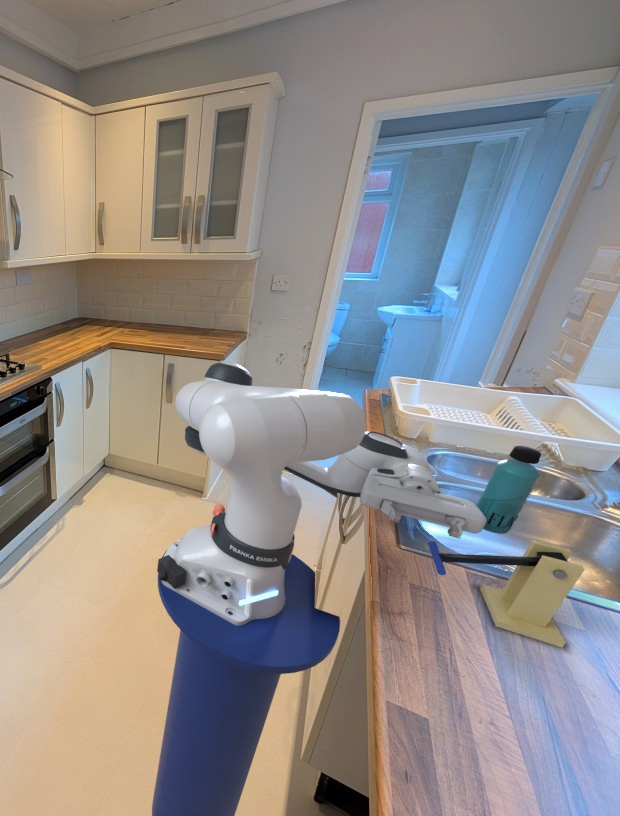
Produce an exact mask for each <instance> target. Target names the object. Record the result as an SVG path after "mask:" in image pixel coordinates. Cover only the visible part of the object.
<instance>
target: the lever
mask: <svg viewBox="0 0 620 816" xmlns="http://www.w3.org/2000/svg"><path fill="white" fill-rule="evenodd" d="M427 545H428V548H429V551H430V554H431V558H432V561H433V565H434V567H435V571H436V574H437V575H438V576H446V575H447V570H446V567H445V564H444V563H455V564H457V563H459V564H474V565H475V564H478V565H496V566H497V565H498V566H515V567H517V566H536V565H537V564H538V562H539V560H540V559H541V557H542V556H547V557H551V558H555V559H559V560H563V561H567V562H569V561H568V560H566V558H565V557H564V555H563V554H562V553H560V552H537V557H522V556H515V555H513V556H512V555H491V554H489V555H488V554H466V553H465V554H464V553H445V552H444V553H443V552H441V553H440V550H439V547H438V545H437V542H436V541H434V540H429V541H428V542H427Z"/></svg>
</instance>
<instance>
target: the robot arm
mask: <svg viewBox="0 0 620 816" xmlns="http://www.w3.org/2000/svg"><path fill="white" fill-rule="evenodd" d="M174 406H175V410H176V413H177V415H178V416H179V417H180V419H181V420H182V421H183V422H184V423H185V424H187V425H186V427H185V429H184V441H185V443H186V445H187V446H188V447H189V448H191V449H192V451H194V452H196V453H197V454H200V455H203V456H207V458H208V459H209V460H210V461H211V462H213V464H214V465H216V466H218V467H219V468H221V469H222V470H223V471H224V473H225V474H226V477H227V480H228V494H227V501H226V508H225V506H224V505H223V504H221V503H217V504H215V505H214V506H213V510H212V516H213V517H212V520H211V523H210V524H208V525H202V526H195V527H192V528H190V529H189V530H188V531H186V532H185V533H184V535H183V536H182V537H183V538H182V537H181V538H182V539H181V538H179V539H177V540H175V541H174V542H172V543H171V545H169V547H168V548H167V549H168V550H167V549H166V550H167V551H166V550H165V551H166V553H165V552H164V553H165V555H164V554H163V555H164V557H162V556H161V558H158V560H157V567H156V569H157V570H156V572H157V574H158V573H159V574H160V576H159V579H160V580H161V581H162V583H163V585H165V586H166V587H168V588H170V589H171V590H173V591H175V592H177V593H179V594H180V595H182V596H184V597H186V598H187V599H189V600H191V601H193V602H195V603H196V604H198V605H200V606H202V607H203V608H205V609H207V610H209V611H211V612H212V613H214V614H216V615H218V616H220V617H221V618H223V619H225V620H227V621H228V622H230V623H232V624H234V625H237V626H242V625H244V624H246V623H248V622H250V621H251V620H256V619H266V618H270V617H273V616H275V615H277V614H278V613H279V612H280V611H281V610H282V609H283V607H284V605H285V591H284V578H285V569H286V568H287V565H288V563H289V562H290V559H291V556H292V554H293V552H294V548H295V538H296V537H295V530H296V527H297V524H298V521H299V517H300V513H301V510H302V505H303V503H302V498H301V496H300V493H299V491H298V489H297V488H296V486H295V485H294V484H293V483H292V482H291V481H290V480H288V479H287V478H286V477H284V476H282V475H283V471H284V470H285V471H286V472H288V473H290V474H292V475H294V476H296V477H297V478H300V479H301V480H303V481H306V482H308V483H310V484H312V485H314V486H316V487H318V488H320V489H322V490H324V491H325V492H327V493H328V494H330V495H331V496H333V497H334V498H336V499H338V498H339V497H338V496H339V495H338V494H340V495H343V496H346V497H351V498H353V497H354V498H359V503H360V504H361V505H362V506H364V507H367V508H371V509H375V510H379V511H381V512H382V513H383V514H384V515H385V516H387V517H388V519H389V521H390V522H394V523H397V524H398V523H400V520H401V519H402V516H403V517H407V518H410V519H415V520H419V521H423V522H426V523H431V524H435V525H439V526H442V527H446V528H448V530H447V534H448V536H449V537H452V538H455V539H456V538H457V539H461V537H462V536H463V535H462V534H463V532H466V533H470V534H474V535H477V534H479V533H481V532H482V531H483V530H484V529H483V528H484V526H485V523H486V518H485V516H484V515H483V513H482V512H481V511H480V509H479V508H478V507H477V504H475V503H474V502H472V501H471V500H468V499H466V498H463V497H458V496H454V495H449V494H445V493H441V489H440V487H439V485H438V483H437V480H436V478H435V476H434V475H433V472H432V468H431V466H430V464H429V462H428V461H427V459H426V458H425V457H424V456H423V454H422V453H421V452H420V451H419V450H417V449H416V448H414V447H413V446H411V445H408V444H404V443H402V442H400V441H399V440H397V439H396V438H393V437H391V436H389V435H387V434H384V433H381V432H378V431H366V428H367V427H366V425H367V424H366V423H367V421H366V417H365V413H364V411H363V410H362V407H361V406H360V404H359V403H358V402H357V401H356V400H355V399H354V398H352V397H351V396H350V395H347V394H345V393H338V392H331V391H323V390H315V389H314V390H312V389H303V388H291V387H280V386H279V387H278V386H261V385H260V386H258V385H253V377H252V375H251V373H250V371H249V370H247V369H246V368H245V367H243V366H241V365H240V364H237V363H234V362H228V361H225V362H223V361H222V362H215V363H213V364H211V365H210V366H209V368H208V369H207V371H206V372H205V374H204V379H202V380H196V381H195V380H194V381H192V382H189V383H186V384H185V385H183V387H181V388H180V389H179V391H178V393H177V394H176V397H175V405H174ZM337 456H338V457H337ZM335 457H337V458H336V460H335V461H334V463H333V464H332V465H330V466H329V467H328V466H327V467H324V466H321V465H319V464H317V463H315V462H317V461H323V460H324V461H326V460H329V459H332V458H335ZM229 614H231V615H229Z"/></svg>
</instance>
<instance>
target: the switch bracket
mask: <svg viewBox="0 0 620 816" xmlns="http://www.w3.org/2000/svg"><path fill="white" fill-rule="evenodd" d="M537 552H560V553H562V554H563V555H564V557H565V558H566V560H567V561H568V560H569V558H570V557H571V555H573V551H572V550H571V549H570V548H569V547H565V546H559V545H556V544H553V543H552V544H551V543H547V542H543V541H540V540H535V539H531V541H530V543H529V545H528V546H527V548H526V550H525V551H524V553H523V555H522V556H521V557H537ZM567 561H563V560H559V559H555V558H551V557H547V556H542V557H541V559H540V560H539V562H538V564H537V565H536V566H515V568H514V570H513V571H512V573H511V575H510V577H509V578H508V580H507V582H506V583H505V585H504V587H503V588H497V587H495V586H491V585H487V584H484V583H482V584H481V586H480V587H479V590H480V593H481V595H482V597H483V599H484V602H485V604H486V606H487V609H488V611H489V613H490V617H491V618H492V621H493V623H494V626H495V627H497V628H500V629H501V630H505V631H509V632H512V633H515V634H518V635H522V636H524V637H527V638H530V639H533V640H536V641H540V642H544V643H546V644H550V645H552V646H556V647H559V648H563V647H564V646H565V645H566V644H567V642H566V640H565V638H564V637H563V635H562V633H561V631H560V630H559V628H558V626H557V624H556V623H555V621H554V620H553V617H554V615H556V612H557V611H558V609H559V607H561V605H562V604H563V602H564V600H566V598H567V596H568V595H569V593H570V592H571V591H572V589H573V588H574V586H575V585H576V583H577V582H578V581H579V579H580V577H581V576H582V575H583V573H584V572H585V570H586V569H585V568H584V566H583V565H581V564H579V563H574V562H570V561H568V562H567Z"/></svg>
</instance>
